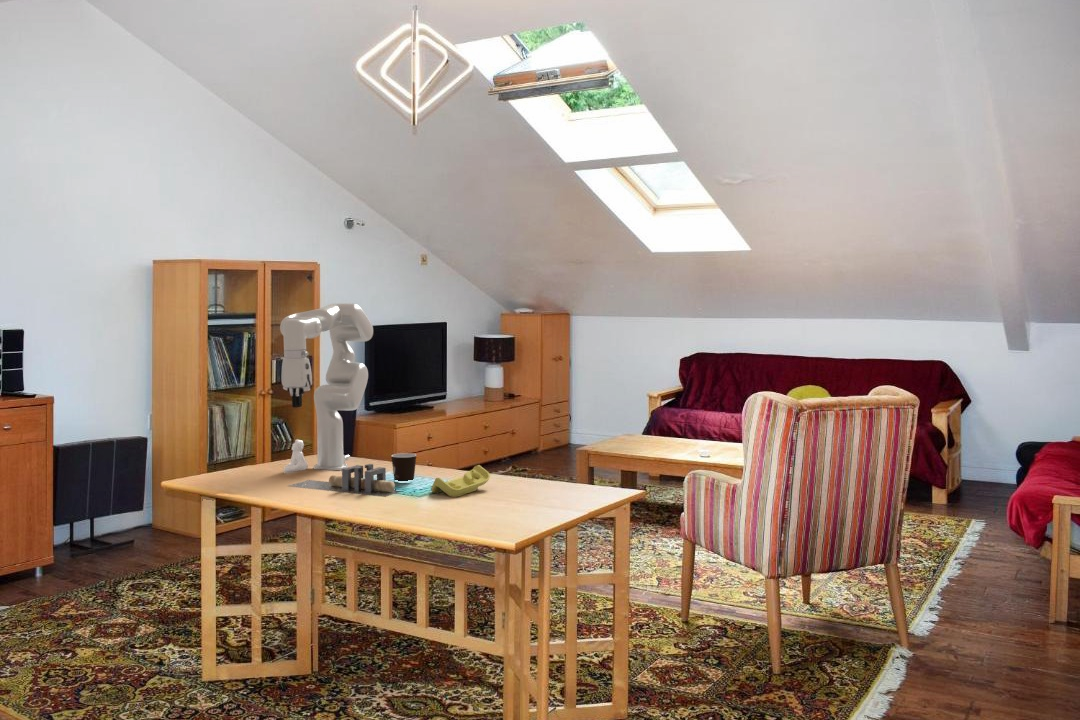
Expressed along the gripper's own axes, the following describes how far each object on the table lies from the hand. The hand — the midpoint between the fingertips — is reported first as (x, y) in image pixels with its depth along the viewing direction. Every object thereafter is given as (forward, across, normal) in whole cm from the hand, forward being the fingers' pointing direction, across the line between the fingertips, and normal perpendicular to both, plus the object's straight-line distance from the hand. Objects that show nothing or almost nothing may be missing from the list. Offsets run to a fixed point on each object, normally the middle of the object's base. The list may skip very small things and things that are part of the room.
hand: (297, 406), depth 335 cm
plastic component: (+27, -61, -7) cm, 67 cm away
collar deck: (+26, -24, +7) cm, 36 cm away
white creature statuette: (+27, +13, -15) cm, 34 cm away
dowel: (+25, -30, +8) cm, 40 cm away
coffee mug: (+27, -36, -11) cm, 46 cm away
